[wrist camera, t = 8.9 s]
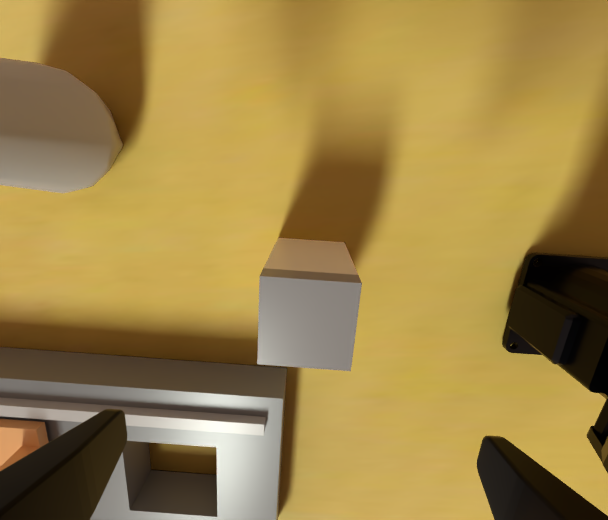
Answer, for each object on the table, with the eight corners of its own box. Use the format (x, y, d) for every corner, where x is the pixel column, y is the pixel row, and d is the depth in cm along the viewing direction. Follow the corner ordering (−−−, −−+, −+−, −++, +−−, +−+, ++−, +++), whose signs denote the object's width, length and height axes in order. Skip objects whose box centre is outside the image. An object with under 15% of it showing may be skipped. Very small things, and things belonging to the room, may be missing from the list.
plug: (344, 242, 19) (361, 283, 12) (338, 303, 20) (350, 371, 14) (278, 237, 19) (259, 276, 12) (275, 298, 20) (257, 364, 14)
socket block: (287, 368, 22) (282, 406, 18) (278, 517, 26) (272, 572, 22) (-34, 344, 22) (-99, 378, 18) (6, 497, 26) (-41, 548, 22)
